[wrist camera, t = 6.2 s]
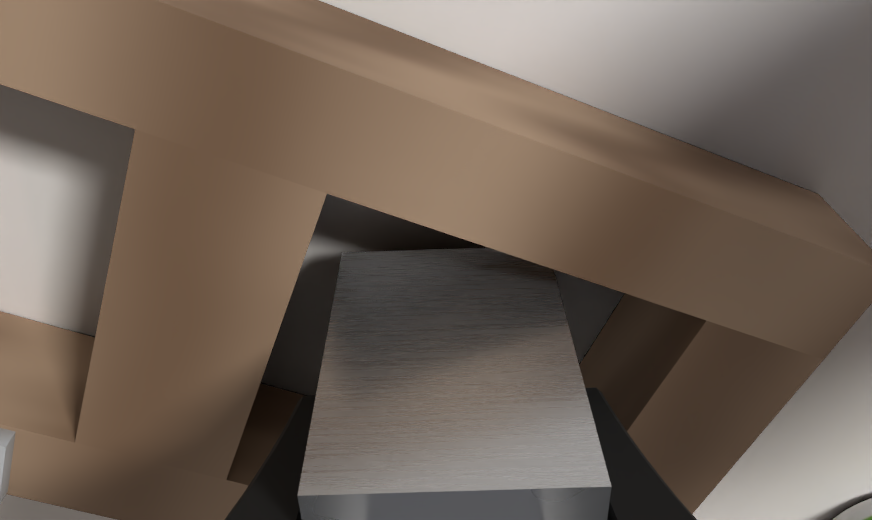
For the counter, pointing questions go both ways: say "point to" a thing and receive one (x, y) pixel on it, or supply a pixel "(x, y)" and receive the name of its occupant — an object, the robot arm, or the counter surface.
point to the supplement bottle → (857, 512)
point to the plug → (450, 395)
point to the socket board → (399, 196)
